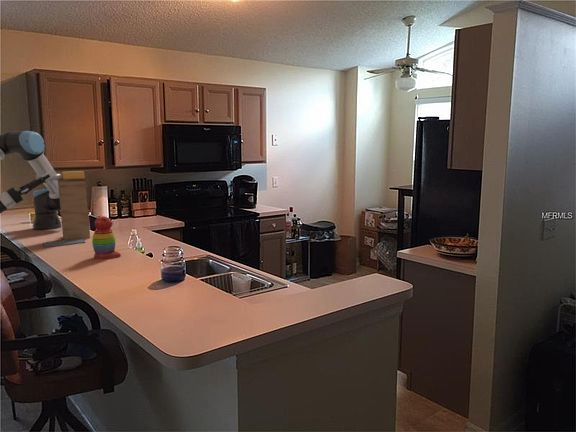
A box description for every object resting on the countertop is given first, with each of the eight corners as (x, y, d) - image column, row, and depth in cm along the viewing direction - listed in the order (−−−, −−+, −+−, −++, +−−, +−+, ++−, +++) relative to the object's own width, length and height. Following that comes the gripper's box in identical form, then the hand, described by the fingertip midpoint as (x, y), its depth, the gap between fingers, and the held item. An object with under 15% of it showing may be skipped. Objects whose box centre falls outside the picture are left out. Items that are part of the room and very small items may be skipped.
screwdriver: (36, 183, 233) (35, 173, 232) (36, 182, 237) (35, 173, 236) (84, 180, 244) (84, 171, 244) (83, 180, 248) (82, 170, 248)
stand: (63, 238, 248) (57, 178, 243) (87, 235, 254) (82, 177, 250) (65, 241, 241) (59, 179, 237) (90, 238, 248) (85, 178, 243)
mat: (43, 243, 235) (43, 242, 235) (82, 239, 245) (82, 238, 245) (45, 247, 227) (44, 246, 227) (85, 242, 236) (85, 241, 236)
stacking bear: (122, 256, 206) (119, 216, 203) (98, 260, 199) (95, 219, 196) (112, 252, 214) (109, 213, 211) (89, 256, 207) (86, 216, 204)
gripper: (15, 202, 238) (58, 176, 247) (16, 205, 225) (61, 178, 233) (5, 190, 236) (48, 164, 244) (6, 192, 222) (51, 165, 230)
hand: (55, 171), depth 239 cm, fingers closed on screwdriver, 3 cm apart
